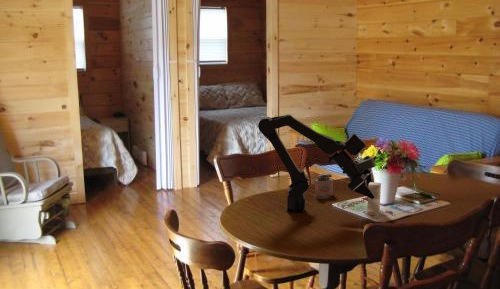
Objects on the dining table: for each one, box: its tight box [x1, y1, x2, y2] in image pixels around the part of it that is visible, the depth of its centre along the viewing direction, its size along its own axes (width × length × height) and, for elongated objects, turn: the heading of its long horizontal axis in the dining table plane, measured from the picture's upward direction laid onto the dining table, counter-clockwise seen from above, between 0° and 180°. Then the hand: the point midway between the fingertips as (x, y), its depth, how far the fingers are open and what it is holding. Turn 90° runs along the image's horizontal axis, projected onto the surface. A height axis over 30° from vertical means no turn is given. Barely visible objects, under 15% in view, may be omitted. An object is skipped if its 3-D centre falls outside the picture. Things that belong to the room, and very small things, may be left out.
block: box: [366, 181, 382, 215], centre depth 200 cm, size 4×4×11 cm
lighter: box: [314, 173, 334, 200], centre depth 224 cm, size 8×3×10 cm, turn 105°
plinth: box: [363, 209, 383, 216], centre depth 201 cm, size 6×6×1 cm
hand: (375, 195), depth 200 cm, fingers open, 9 cm apart
